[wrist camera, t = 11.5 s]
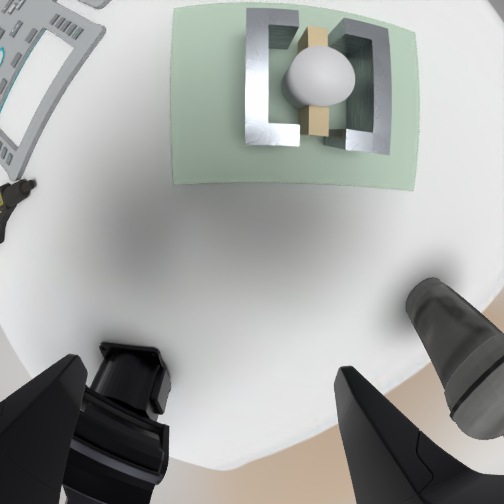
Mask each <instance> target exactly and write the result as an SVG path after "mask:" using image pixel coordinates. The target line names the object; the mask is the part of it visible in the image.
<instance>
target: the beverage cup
mask: <svg viewBox="0 0 504 504" xmlns="http://www.w3.org/2000/svg"><path fill="white" fill-rule="evenodd" d="M406 312H407V313H408V315H409V317H410V319H411V321H412V324H413V326H414V328H415V330H416V332H417V333H418V335H419V337H420V339H421V341H422V343H423V345H424V347H425V349H426V351H427V353H428V355H429V357H430V359H431V361H432V363H433V365H434V367H435V369H436V372H437V374H438V376H439V378H440V380H441V383H442V385H443V387H444V389H445V392H444V394H445V397H446V401H447V404H448V407H449V409H450V411H451V413H450V417H451V419H452V420H453V421H454V422H456V424H457V425H458V427H459V428H460V429H461V430H462V431H463V432H464V433H465V434H466V435H468V436H470V437H472V438H475V439H479V440H489V439H494V438H497V437H500V436H502V435H503V436H504V333H502V332H501V331H500V330H499V329H498V328H497V327H496V326H495V325H494V324H493V323H492V322H490V321H489V320H488V319H487V318H486V317H485V316H484V315H482V314H481V313H480V312H479V311H478V310H477V309H476V308H474V307H473V306H472V305H471V304H470V303H469V302H467V301H466V300H465V299H464V298H463V297H461V296H460V295H459V294H458V293H456V292H455V291H454V290H453V289H451V288H450V287H449V286H447V285H445V284H444V283H443V282H441V281H440V280H439V279H436V278H429V279H426V280H424V281H422V282H421V283H419V284H418V285H417V286H416V287H415V288H414V289H413V291H412V292H411V293H410V295H409V297H408V299H407V303H406Z"/></svg>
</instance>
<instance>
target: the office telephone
mask: <svg viewBox="0 0 504 504" xmlns="http://www.w3.org/2000/svg"><path fill="white" fill-rule="evenodd" d="M56 1H57V0H0V112H1V110H2V108H3V105H4V103H5V100H6V98H7V96H8V94H9V92H10V90H11V88H12V86H13V84H14V82H15V80H16V78H17V76H18V74H19V72H20V70H21V68H22V67H23V65H24V63H25V61H26V60H27V58H28V56H29V55H30V53H31V51H32V50H33V48H34V47H35V45H36V43H37V42H38V41H39V39H40V38H41V36H42V35H43V33H44V32H45V31H46V30H47V29H48V30H49V31H51V32H52V33H54V34H56V35H57V36H59V37H60V38H62V39H63V40H64V41H66V42H67V43H69V44H70V45H71V46H73V47H74V49H73V51H72V52H71V53H70V55H69V56H68V58H67V59H66V61H65V62H64V64H63V65H62V67H61V69H60V70H59V72H58V73H57V75H56V77H55V78H54V80H53V82H52V83H51V85H50V87H49V88H48V90H47V92H46V94H45V95H44V97H43V99H42V101H41V103H40V105H39V106H38V108H37V110H36V112H35V114H34V116H33V118H32V120H31V122H30V124H29V126H28V129H27V131H26V133H25V135H24V137H23V139H22V141H21V143H20V145H19V147H17V146H16V145H15V144H14V143H13V142H12V141H11V140H10V139H9V138H8V137H7V136H6V135H5V133H4V132H3V131H2V130H1V129H0V165H1V166H2V167H3V168H4V169H5V171H6V172H7V174H8V176H9V179H10V180H11V181H12V182H13V181H16V180H19V179H21V177H22V175H23V173H24V171H25V168H26V166H27V164H28V161H29V159H30V157H31V154H32V152H33V150H34V148H35V146H36V143H37V141H38V139H39V137H40V135H41V133H42V131H43V129H44V127H45V125H46V124H47V122H48V120H49V118H50V116H51V114H52V112H53V111H54V109H55V107H56V105H57V104H58V102H59V100H60V98H61V97H62V95H63V94H64V92H65V90H66V89H67V87H68V86H69V84H70V82H71V81H72V79H73V78H74V76H75V75H76V74H77V72H78V71H79V69H80V68H81V66H82V65H83V64H84V62H85V61H86V59H87V58H88V56H89V55H90V54H91V52H92V51H93V49H94V48H95V47H96V45H97V44H98V43H99V41H100V40H101V39H102V37H103V36H104V35H105V33H106V28H105V27H104V26H102V25H100V24H95V23H93V22H91V21H89V20H87V19H85V18H83V17H81V16H79V15H78V14H76V13H74V12H72V11H70V10H68V9H67V8H65V7H63V6H61V5H59V4H57V3H56ZM79 1H82V2H84V3H86V4H88V5H90V6H92V7H95V8H97V9H102V8H104V7H105V6H106V5H107V4H108V3H109V2H110V1H111V0H79Z"/></svg>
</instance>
